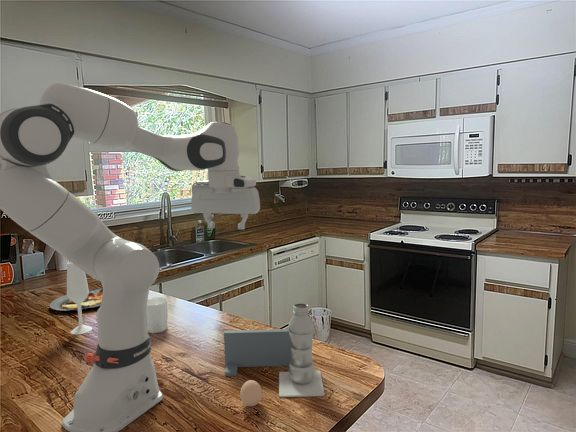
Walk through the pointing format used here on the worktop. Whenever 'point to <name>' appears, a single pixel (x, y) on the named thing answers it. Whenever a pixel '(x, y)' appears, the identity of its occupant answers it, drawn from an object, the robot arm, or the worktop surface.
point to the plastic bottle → (301, 345)
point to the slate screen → (256, 349)
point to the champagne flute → (77, 293)
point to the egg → (251, 393)
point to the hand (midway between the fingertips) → (226, 228)
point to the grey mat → (300, 386)
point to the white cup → (157, 314)
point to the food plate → (91, 301)
